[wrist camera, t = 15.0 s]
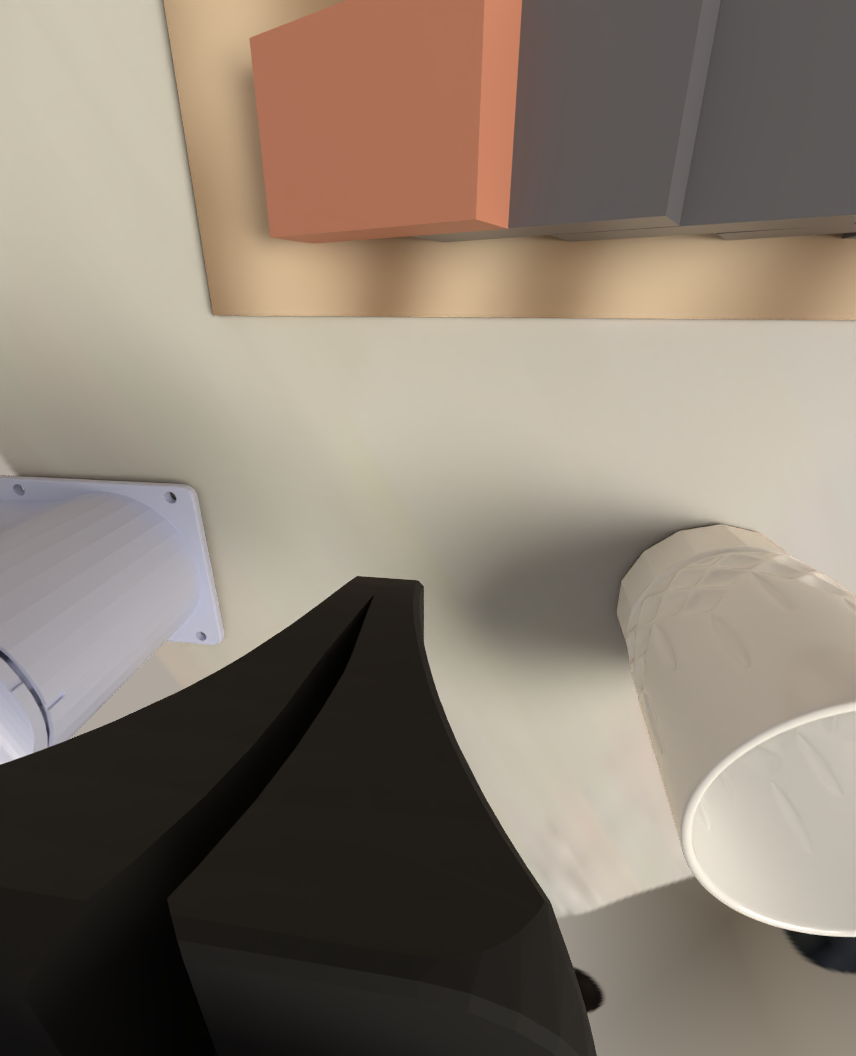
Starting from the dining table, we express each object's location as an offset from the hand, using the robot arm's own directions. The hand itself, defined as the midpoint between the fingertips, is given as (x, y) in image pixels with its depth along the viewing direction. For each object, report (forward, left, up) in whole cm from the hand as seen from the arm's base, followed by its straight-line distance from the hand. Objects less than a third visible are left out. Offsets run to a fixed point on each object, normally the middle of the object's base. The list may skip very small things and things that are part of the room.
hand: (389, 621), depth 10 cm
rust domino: (-5, +10, -9) cm, 14 cm away
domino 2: (+4, +10, -9) cm, 14 cm away
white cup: (+11, -5, -11) cm, 16 cm away
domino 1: (0, +10, -9) cm, 14 cm away
